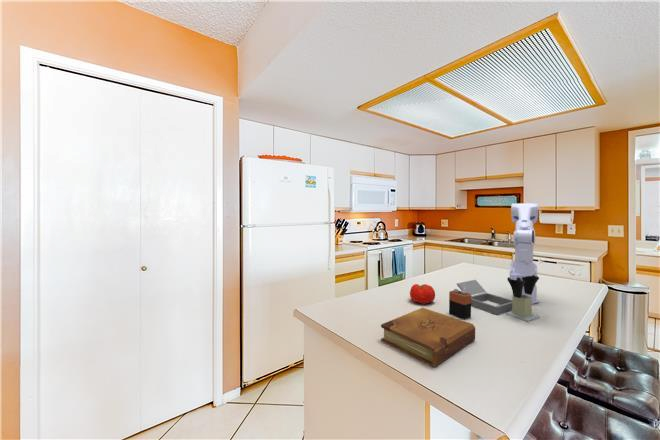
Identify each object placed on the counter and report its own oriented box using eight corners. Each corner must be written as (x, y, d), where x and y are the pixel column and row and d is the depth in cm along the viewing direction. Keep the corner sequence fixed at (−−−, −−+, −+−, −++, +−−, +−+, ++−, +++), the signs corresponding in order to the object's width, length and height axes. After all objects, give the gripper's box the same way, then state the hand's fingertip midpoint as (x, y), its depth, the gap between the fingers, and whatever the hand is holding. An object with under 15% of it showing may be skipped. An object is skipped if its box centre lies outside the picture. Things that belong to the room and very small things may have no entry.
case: (475, 295, 125) (475, 279, 125) (517, 308, 109) (517, 289, 109) (455, 300, 119) (455, 283, 119) (496, 315, 103) (497, 295, 102)
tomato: (408, 304, 115) (408, 287, 115) (411, 296, 125) (411, 281, 125) (435, 307, 111) (435, 290, 111) (435, 299, 121) (435, 283, 121)
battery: (464, 320, 98) (464, 293, 98) (448, 313, 104) (448, 288, 104) (471, 317, 100) (471, 291, 100) (455, 311, 106) (455, 287, 106)
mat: (517, 310, 107) (517, 309, 107) (539, 317, 100) (539, 316, 100) (505, 314, 103) (505, 313, 103) (528, 321, 96) (528, 320, 96)
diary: (435, 370, 69) (435, 349, 69) (381, 342, 84) (380, 324, 84) (475, 342, 83) (475, 324, 83) (422, 322, 98) (422, 306, 98)
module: (518, 311, 105) (519, 292, 105) (531, 315, 101) (531, 296, 101) (512, 313, 103) (512, 294, 103) (524, 317, 99) (525, 298, 99)
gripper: (522, 257, 108) (521, 289, 108) (501, 260, 101) (501, 295, 102) (542, 260, 101) (541, 294, 102) (521, 264, 95) (521, 301, 95)
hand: (522, 295), depth 101 cm, fingers open, 7 cm apart
